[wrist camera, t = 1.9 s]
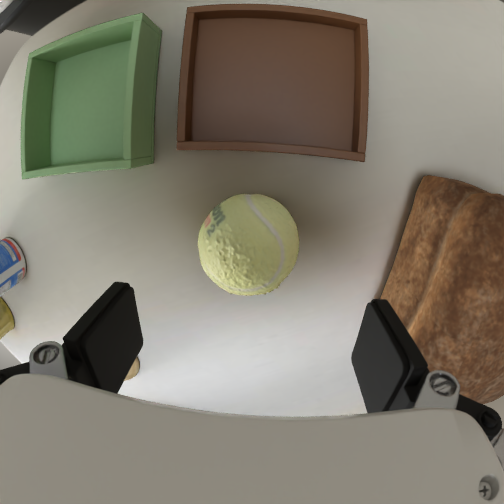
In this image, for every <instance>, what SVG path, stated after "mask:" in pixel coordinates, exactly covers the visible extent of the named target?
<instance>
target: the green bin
mask: <svg viewBox="0 0 504 504" xmlns="http://www.w3.org/2000/svg"><path fill="white" fill-rule="evenodd" d="M161 34H162V31H161V30H160V29H159V28H158V27H157V26H156V25H155V24H154V23H153V22H152V21H151V20H150V19H149V18H148V17H147V16H146V15H145V14H144V13H139V14H135V15H131V16H127V17H123V18H119V19H116V20H112V21H109V22H105V23H102V24H99V25H96V26H93V27H90V28H87V29H84V30H81V31H79V32H76V33H74V34H71V35H68V36H66V37H64V38H61V39H59V40H57V41H54V42H52V43H50V44H48V45H45V46H43V47H41V48H39V49H37V50H35V51H33V52H31V53H29V57H28V63H27V69H26V76H25V83H24V92H23V102H22V116H21V169H22V179H29V178H36V177H43V176H50V175H59V174H67V173H77V172H88V171H100V170H114V169H131V168H135V167H139V166H143V165H148V164H152V163H154V114H155V95H156V81H157V69H158V59H159V50H160V41H161Z"/></svg>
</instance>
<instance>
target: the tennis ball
mask: <svg viewBox="0 0 504 504" xmlns="http://www.w3.org/2000/svg"><path fill="white" fill-rule="evenodd" d="M198 248H199V256H200V262H201V265H202V267H203V269H204V271H205V273H206V274H207V275H208V277H210V279H211V280H212V281H214V282H215V283H216V284H217V285H218V287H220V288H222V289H224V290H226V291H227V292H228V293H230V294H237V295H246V296H247V295H250V296H251V295H259V294H266V292H271V291H273V290H274V289H276V288H278V286H279V285H280V283H281V282H283V280H284V279H285V278H286V277H287V276H288V275H289V274H290V272H291V271H292V269H293V267H294V265H295V263H296V259H297V255H298V252H299V236H298V231H297V225H296V224H295V222H294V220H293V217H291V215H290V213H289V212H288V211H287V209H286V208H285V207H284V206H283V205H282V204H280V203H279V202H278V201H276V200H274V199H272V198H270V197H267V196H264V195H262V194H253V195H248V194H239V195H235V196H232V197H230V198H228V199H226V200H225V201H223V202H222V203H220V204H219V205H217V206H216V207H215V208H214V209H213V210H212V211H211V212H210V214H209V215H208V217H207V218H206V220H205V221H204V222H203V224H202V226H201V229H200V231H199V237H198Z"/></svg>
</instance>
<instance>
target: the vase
mask: <svg viewBox="0 0 504 504" xmlns="http://www.w3.org/2000/svg"><path fill="white" fill-rule="evenodd" d="M13 328H14V319H13V316H12V314H11V311H10V309H9V308H8V306H7V304H6V303H5V302H4V301H3V299H2V298H0V339H1V338H2V337H3V336H4V335H5V334H6V333H8V332H9V331H10V330H12V329H13Z"/></svg>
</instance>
